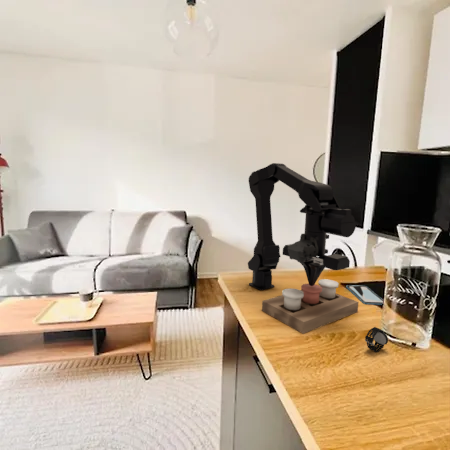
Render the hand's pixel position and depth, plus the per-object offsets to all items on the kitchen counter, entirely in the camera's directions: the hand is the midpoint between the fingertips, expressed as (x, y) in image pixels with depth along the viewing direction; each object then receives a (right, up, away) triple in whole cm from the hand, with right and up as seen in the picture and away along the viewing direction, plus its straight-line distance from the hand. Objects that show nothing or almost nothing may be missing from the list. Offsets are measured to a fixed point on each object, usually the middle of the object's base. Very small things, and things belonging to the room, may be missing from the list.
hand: (311, 285), depth 84 cm
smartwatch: (+9, -11, -18) cm, 22 cm away
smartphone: (+22, -7, +14) cm, 27 cm away
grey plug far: (+6, -4, +5) cm, 9 cm away
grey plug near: (-6, -5, -4) cm, 9 cm away
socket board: (0, -8, +1) cm, 8 cm away
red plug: (0, -4, +1) cm, 4 cm away
